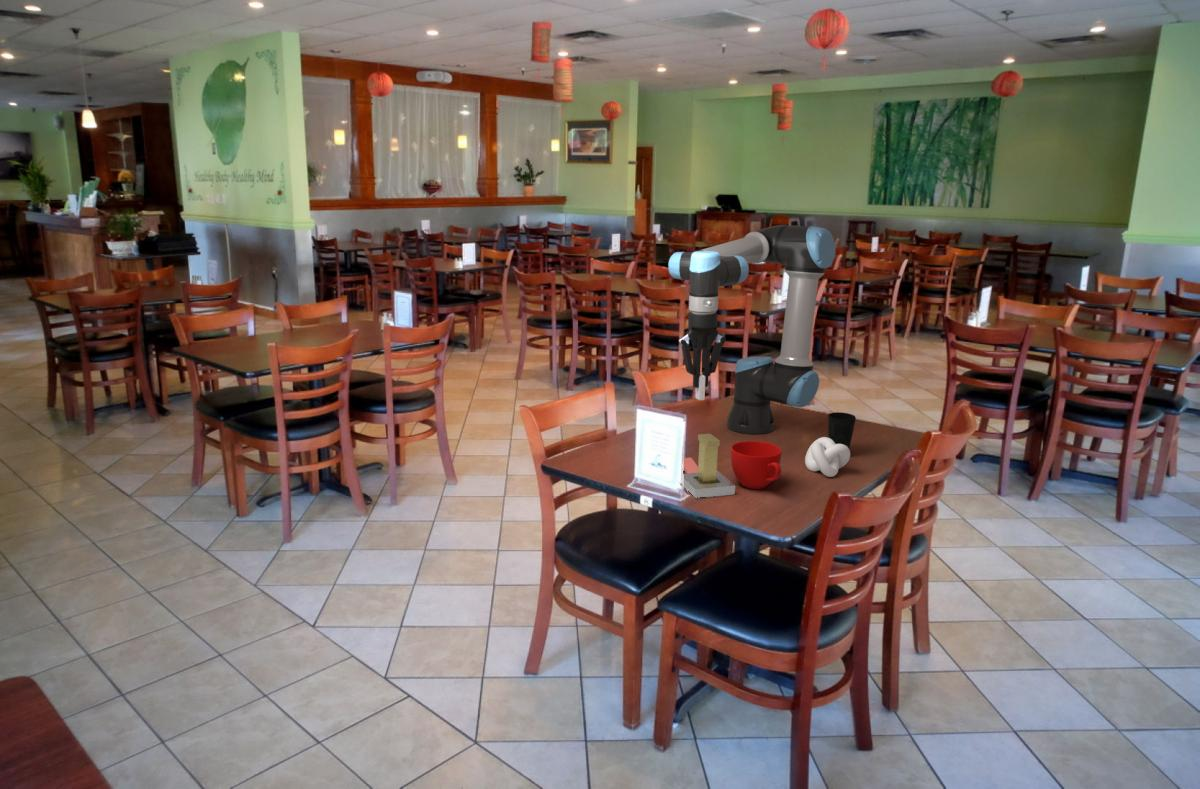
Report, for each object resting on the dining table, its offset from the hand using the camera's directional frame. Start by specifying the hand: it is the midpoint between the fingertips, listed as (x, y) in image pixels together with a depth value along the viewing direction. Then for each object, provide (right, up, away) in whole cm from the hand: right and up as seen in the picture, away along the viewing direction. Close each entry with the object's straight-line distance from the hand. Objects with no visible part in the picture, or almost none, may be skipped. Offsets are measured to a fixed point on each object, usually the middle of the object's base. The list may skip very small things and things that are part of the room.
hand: (699, 398), depth 217 cm
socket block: (+1, -23, -7) cm, 24 cm away
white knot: (+35, -21, +6) cm, 41 cm away
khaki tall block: (+1, -23, -7) cm, 24 cm away
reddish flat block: (-2, -20, +3) cm, 20 cm away
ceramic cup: (+15, -23, -5) cm, 28 cm away
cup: (+43, -17, +21) cm, 51 cm away
